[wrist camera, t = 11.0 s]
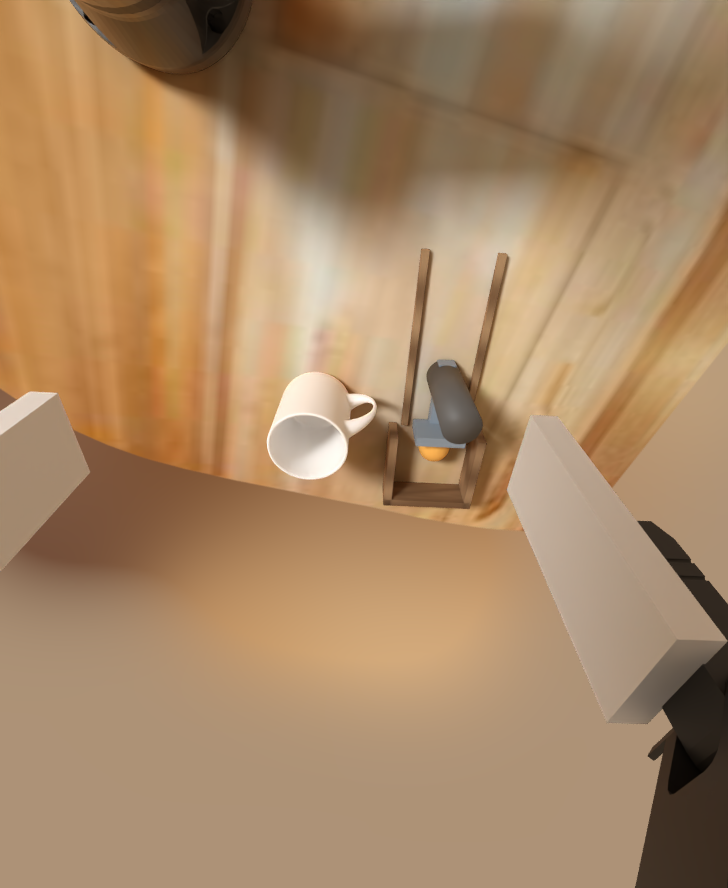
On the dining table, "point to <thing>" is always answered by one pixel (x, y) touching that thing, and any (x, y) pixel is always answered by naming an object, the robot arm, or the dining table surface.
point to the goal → (432, 492)
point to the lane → (417, 321)
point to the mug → (315, 426)
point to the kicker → (448, 410)
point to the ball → (433, 452)
